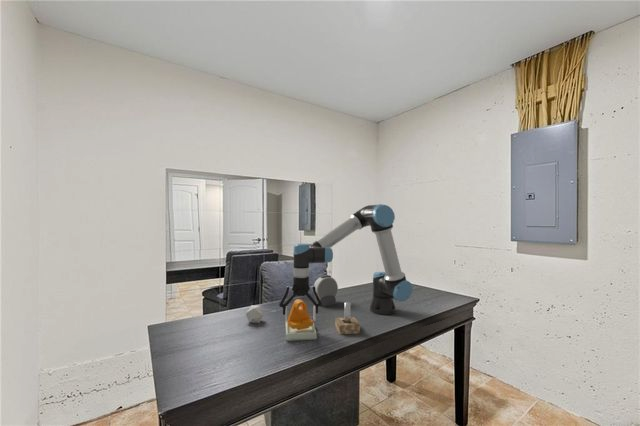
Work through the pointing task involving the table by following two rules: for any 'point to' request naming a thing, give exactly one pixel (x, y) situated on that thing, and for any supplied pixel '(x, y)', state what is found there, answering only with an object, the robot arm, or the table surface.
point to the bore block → (347, 326)
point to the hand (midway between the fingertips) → (300, 320)
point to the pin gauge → (347, 312)
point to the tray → (300, 333)
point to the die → (255, 314)
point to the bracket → (299, 316)
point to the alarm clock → (326, 290)
